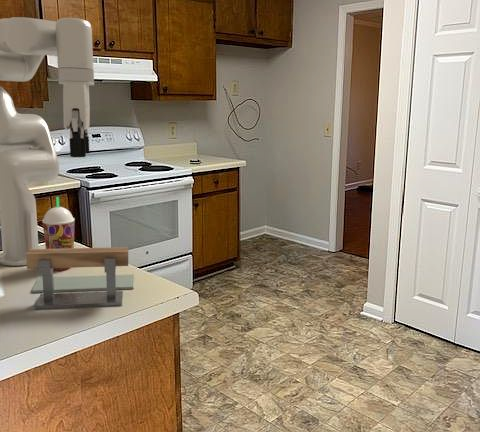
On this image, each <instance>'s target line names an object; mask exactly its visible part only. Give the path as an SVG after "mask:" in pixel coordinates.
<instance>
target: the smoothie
mask: <svg viewBox="0 0 480 432" xmlns="http://www.w3.org/2000/svg"><path fill="white" fill-rule="evenodd" d="M55 199H56V200H55V201H56V206H54V207H51V208H49V209H48V210H47V211H46V212H45V213H44V217H43V219H42V220H41V222H42V228H43V235H44V245H45V246H44V247H45V249H64V248H75V219H76V218H75V217H73V215H72V212H71V211H70V210H69V209H67V208H65V207H64V206H63V207H62V206H60V197H59V196H56V197H55ZM68 269H70V268H53V271H65V270H68Z"/></svg>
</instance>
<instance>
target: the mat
mask: <svg viewBox="0 0 480 432" xmlns="http://www.w3.org/2000/svg"><path fill="white" fill-rule="evenodd" d="M53 279H54V293H64V292H65V293H69V292H93V291H94V292H96V291H107V281H106V274H103V275H78V276H72V275H71V276H53ZM134 280H135V279H134V274H116V291H120V290H119V289H121V290H133V289H134ZM31 291H32V294H34V293H35V294H36V293H41V292H42V293H43V278H42V277H38V279H37V280H36V283H35V284H34V286H33V287H32V290H31ZM42 293H41V294H42Z"/></svg>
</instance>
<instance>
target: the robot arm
mask: <svg viewBox="0 0 480 432" xmlns="http://www.w3.org/2000/svg"><path fill="white" fill-rule="evenodd" d="M93 53H94V49H93V29H92V25H91V23H90V22H89V21H87V20H85V19H84V18H83V19H82V18H78V17H62V18H59V19H57V20H56V21H53V20H47V19H40V18H32V17H24V16H23V17H20V16H18V17H17V16H16V17H15V16H14V17H13V16H11V17H10V18H9V17H8V18H7V17H6V18H0V81H1V82H2V81H4V82H19V83H20V82H23V83H24V82H28V81H30V80H32V79H33V77H34V76H35V75H36V73H37V71H38V68H39V67H40V65H41V63H42V61H43V59H44V58H45V56H53V57H57V59H56V60H57V73H58V76H57V77H58V85H62V86H63V89H62V102H63V103H62V104H63V105H62V107H63V108H62V109H63V128H64V129H65V130H69V154H70V155H69V156H70V157H71V158H85V157H86V155H87V154H89V153H90V139H89V138H90V137H89V133H88V132H89V131H88V129H89V128H90V124H91V122H90V119H91V118H90V117H91V113H90V112H91V107H90V106H91V105H90V86H95V76H94V75H95V74H94V70H95V69H94V56H93V55H94V54H93ZM0 148H2V149H7V150H3V151H0V234H1V245H2V246H1V247H2V253H0V265H4V266H11V267H13V266H14V267H15V266H27V261H26V253H27V252H28V250H29V249H40V248H39V236H38V235H39V233H38V217H37V201H36V197H35V195H34V194H33V192H32V191H31V190H30V189H29V188H28V186H27V184H32V183H44V182H45V183H46V182H51V181H54V180H56V179H57V177H58V176H59V173H60V164H59V159H58V155H57V152H56V148H55V145H54V141H53V138H52V136H51V132H50V128H49V126H48V124H47V122H46V120H45V119H44V118H43V117H42V116H40V115H38V114H34V113H20V112H18V111H17V110H16V108H15V105H14V100H13V98H12V97H11V95H10V94H9V93H8V92H7V91H6V90H5V89H4V88H3V87H2V86H1V85H0ZM13 148H14V149H13ZM17 148H19V149H17ZM21 148H23V149H21ZM24 148H26V149H24ZM28 148H29V149H28Z"/></svg>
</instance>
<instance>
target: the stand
mask: <svg viewBox="0 0 480 432" xmlns="http://www.w3.org/2000/svg"><path fill="white" fill-rule="evenodd" d="M38 265H39V269H38V275H39V276H40V275H42V278H43V292H42V293H41V294H40V295H39V296H38V299H37V300H36V303H35V305H34V310H49V308H50V310H52V308H53V309H70V308H71V309H73V308H93V307H94V308H95V307H96V308H97V307H98V308H99V307H118V306H123V296H124V291H123V290H116V275H117V274H116V273H117V266H116V261H115V257H114V258H104V267H103V268H104V274H105V275H106V281H107V290H106V291H94V292H93V291H81V292H65V293H64V292H54V279H53V277H54V270H53V268H51V259H39V260H38Z"/></svg>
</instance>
